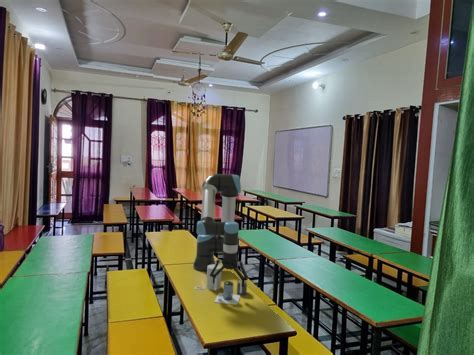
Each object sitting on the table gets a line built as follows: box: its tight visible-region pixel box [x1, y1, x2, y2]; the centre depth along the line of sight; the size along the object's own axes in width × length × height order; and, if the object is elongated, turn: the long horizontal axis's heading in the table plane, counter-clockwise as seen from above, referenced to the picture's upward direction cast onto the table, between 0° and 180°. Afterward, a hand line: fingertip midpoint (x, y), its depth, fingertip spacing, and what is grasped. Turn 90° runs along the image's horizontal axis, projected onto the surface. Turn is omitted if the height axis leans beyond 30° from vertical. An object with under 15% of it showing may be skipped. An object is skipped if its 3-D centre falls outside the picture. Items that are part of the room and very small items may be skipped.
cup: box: [206, 264, 222, 291], centre depth 194 cm, size 8×8×12 cm
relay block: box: [236, 280, 248, 296], centre depth 188 cm, size 5×5×6 cm
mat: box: [213, 292, 242, 306], centre depth 179 cm, size 12×12×1 cm
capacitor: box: [222, 280, 234, 300], centre depth 179 cm, size 5×5×8 cm
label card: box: [194, 286, 205, 291], centre depth 192 cm, size 3×5×1 cm, turn 82°
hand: (228, 291), depth 179 cm, fingers open, 13 cm apart
